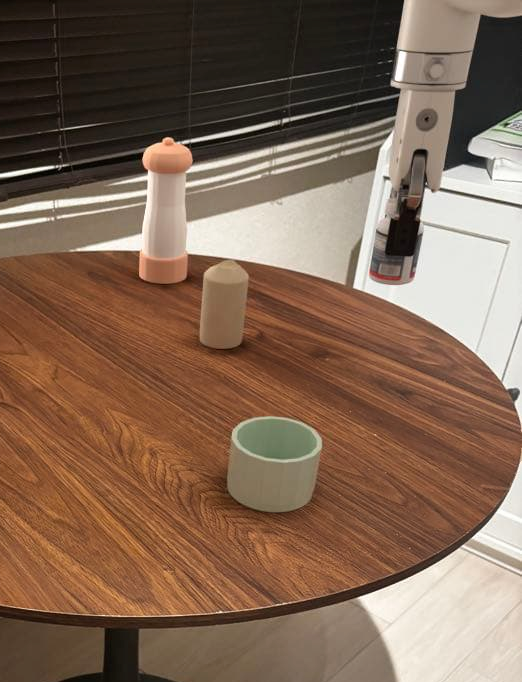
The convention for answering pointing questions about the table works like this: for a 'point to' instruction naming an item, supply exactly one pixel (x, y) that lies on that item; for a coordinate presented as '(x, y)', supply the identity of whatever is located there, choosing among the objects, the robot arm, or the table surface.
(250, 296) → the table surface
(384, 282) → the pill bottle
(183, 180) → the pepper shaker
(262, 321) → the table surface
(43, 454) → the table surface
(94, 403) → the table surface
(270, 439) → the cup
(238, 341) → the candle
